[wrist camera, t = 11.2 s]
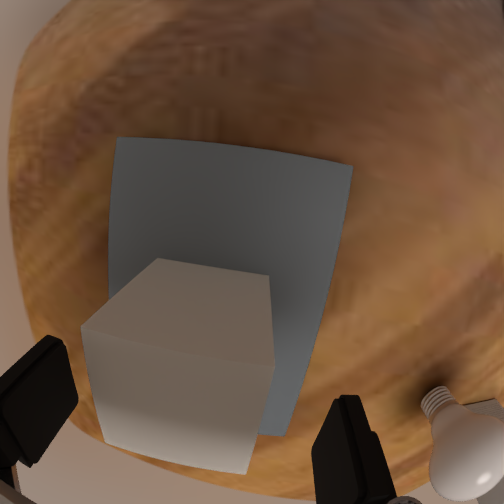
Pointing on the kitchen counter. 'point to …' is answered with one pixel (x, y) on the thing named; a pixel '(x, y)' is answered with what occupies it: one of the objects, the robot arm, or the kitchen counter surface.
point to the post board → (235, 233)
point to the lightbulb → (462, 447)
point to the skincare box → (499, 497)
